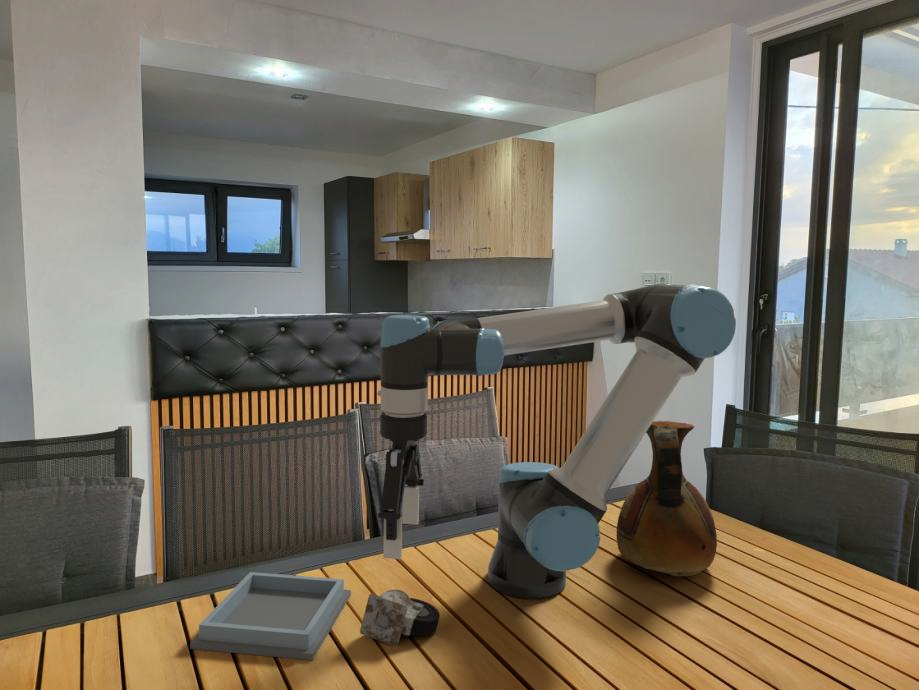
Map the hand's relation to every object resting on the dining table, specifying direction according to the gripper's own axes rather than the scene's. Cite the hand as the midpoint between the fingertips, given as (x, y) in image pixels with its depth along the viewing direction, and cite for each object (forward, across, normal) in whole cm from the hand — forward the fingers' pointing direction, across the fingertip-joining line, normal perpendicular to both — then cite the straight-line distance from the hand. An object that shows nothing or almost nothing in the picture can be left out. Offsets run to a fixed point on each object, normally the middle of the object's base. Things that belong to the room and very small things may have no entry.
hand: (402, 539), depth 105 cm
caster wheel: (+16, -1, 0) cm, 16 cm away
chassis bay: (+16, 0, -22) cm, 27 cm away
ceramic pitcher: (+16, -32, +48) cm, 60 cm away
